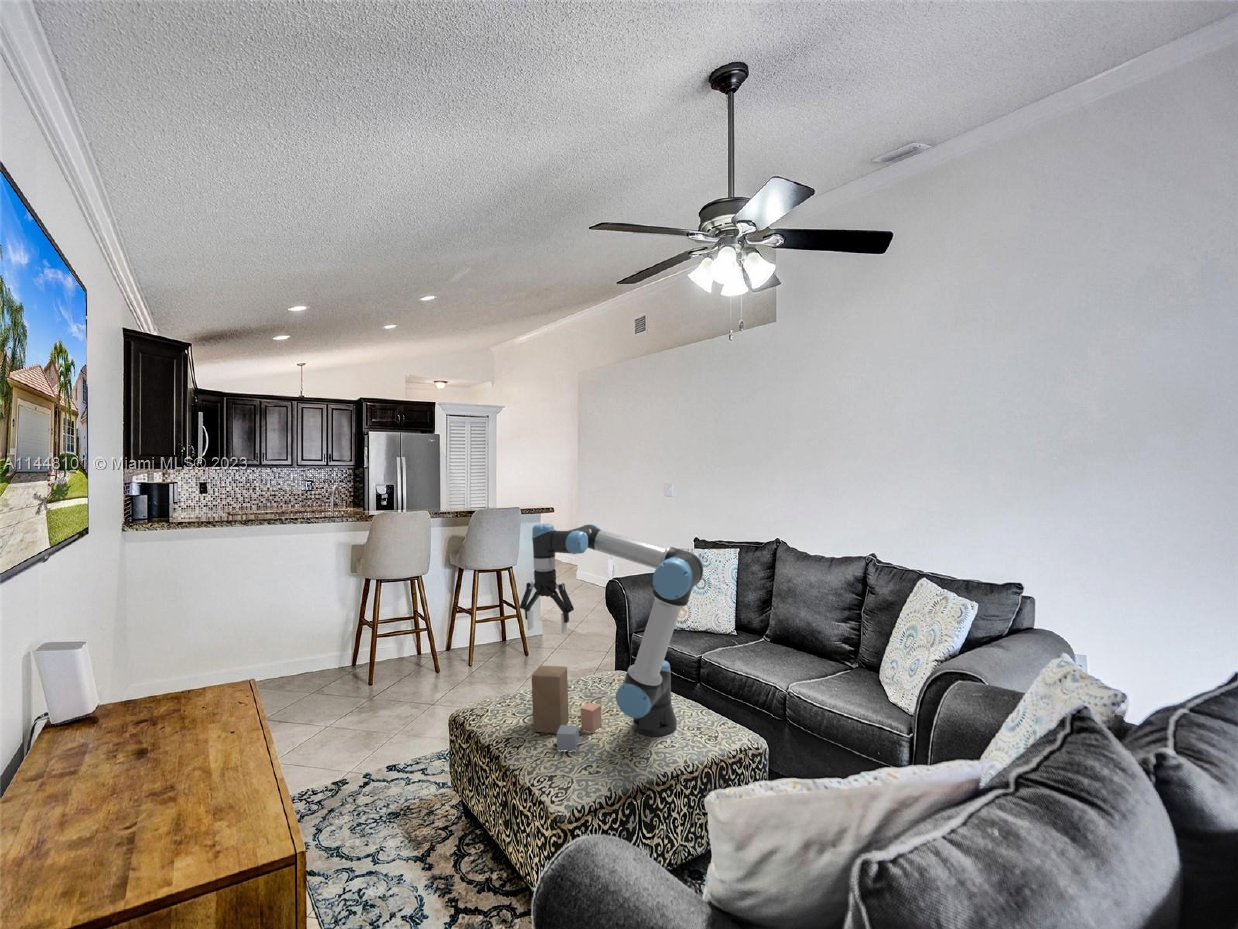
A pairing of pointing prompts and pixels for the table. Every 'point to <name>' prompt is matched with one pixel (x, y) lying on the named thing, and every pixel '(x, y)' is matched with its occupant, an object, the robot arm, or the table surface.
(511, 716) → the table surface
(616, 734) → the table surface
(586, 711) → the terracotta block
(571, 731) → the slate cube
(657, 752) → the table surface
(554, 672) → the wooden block
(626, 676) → the robot arm
